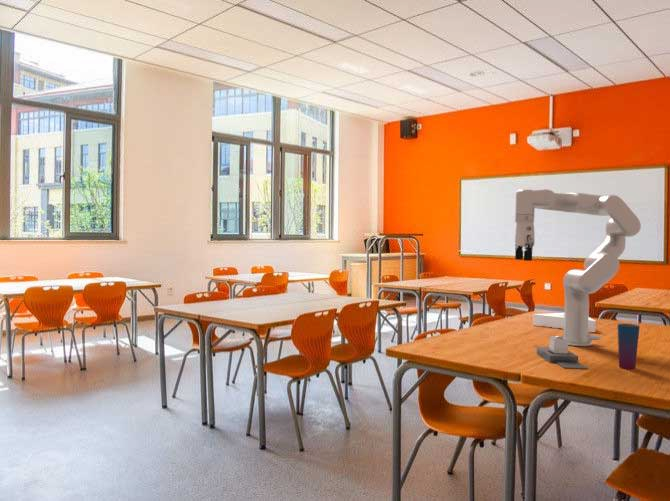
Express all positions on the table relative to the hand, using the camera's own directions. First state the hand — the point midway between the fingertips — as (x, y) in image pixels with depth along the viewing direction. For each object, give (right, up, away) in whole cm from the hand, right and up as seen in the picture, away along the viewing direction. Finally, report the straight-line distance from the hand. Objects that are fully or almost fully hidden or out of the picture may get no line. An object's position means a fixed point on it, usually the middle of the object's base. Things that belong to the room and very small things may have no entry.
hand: (523, 260), depth 234 cm
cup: (+23, -37, -39) cm, 59 cm away
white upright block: (+3, -36, -28) cm, 46 cm away
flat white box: (+41, -35, +50) cm, 74 cm away
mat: (+4, -37, -38) cm, 53 cm away
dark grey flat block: (+4, -36, -26) cm, 45 cm away
